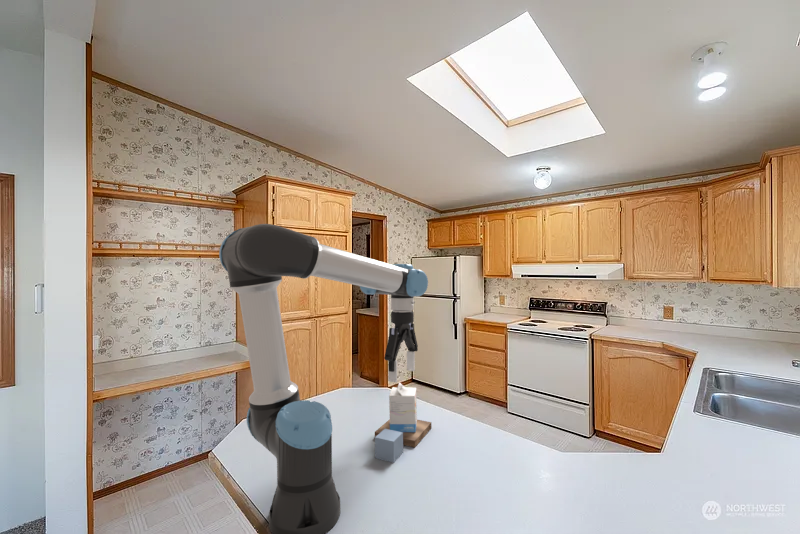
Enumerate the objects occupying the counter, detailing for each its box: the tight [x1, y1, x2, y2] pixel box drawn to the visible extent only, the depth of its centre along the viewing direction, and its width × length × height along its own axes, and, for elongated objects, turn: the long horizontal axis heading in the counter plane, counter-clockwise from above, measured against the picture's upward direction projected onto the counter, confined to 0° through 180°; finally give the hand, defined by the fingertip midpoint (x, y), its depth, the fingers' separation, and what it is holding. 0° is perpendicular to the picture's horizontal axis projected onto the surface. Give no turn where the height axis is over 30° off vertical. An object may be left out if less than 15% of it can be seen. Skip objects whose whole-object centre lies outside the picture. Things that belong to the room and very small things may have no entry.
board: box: [374, 418, 432, 448], centre depth 115 cm, size 14×14×2 cm
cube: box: [374, 429, 404, 463], centre depth 102 cm, size 6×6×6 cm
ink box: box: [388, 382, 418, 432], centre depth 116 cm, size 9×8×13 cm
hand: (402, 375), depth 115 cm, fingers open, 13 cm apart
